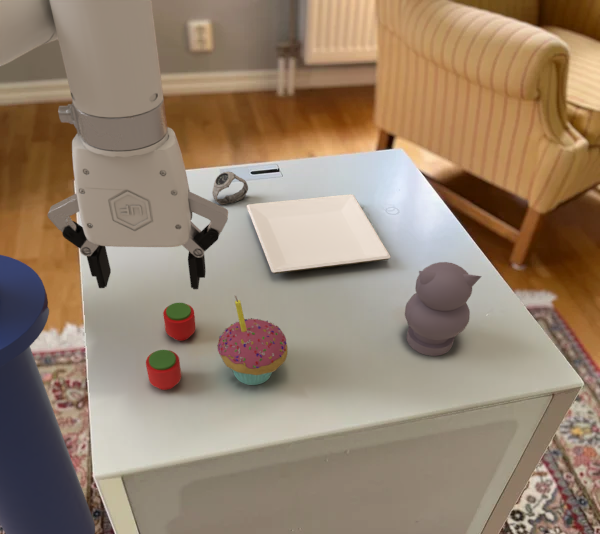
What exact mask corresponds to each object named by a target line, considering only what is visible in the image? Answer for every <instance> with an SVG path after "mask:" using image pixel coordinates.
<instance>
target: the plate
mask: <svg viewBox="0 0 600 534" xmlns="http://www.w3.org/2000/svg"><path fill="white" fill-rule="evenodd" d="M246 210H247V211H248V213H249V214H248V215H249V217H250V219H251V222H252V224H253V227H254V230H255V232H256V235H257V237H258V240H259V242H260V243H259V244H260V245H261V248H262V250H263V254H264V255H265V259H266V260H267V263H268V265H269V269H270V271H271V273H273V274H283V273H291V272H299V271H306V270H316V269H324V268H331V267H340V266H341V267H342V266H349V265H357V264H364V263H374V262H381V261H388V260H389V259H391V255H390V253H389V251H388V250H387V248H386V246H385V245H384V244H383V241H382V240H381V238H380V236H379V235H378V233H377V232H376V229H375V228H374V226H373V225H372V223H371V222H370V220H369V217H368V216H367V214H366V213H365V211H364V210H363V207H361V205H360V203H359V202H358V200H357V198H356V196H355V195H354V194H352V193H351V194H350V193H349V194H340V195H339V194H338V195H329V196H319V197H310V198H300V199H298V198H297V199H289V200H279V201H269V202H259V203H249V204H247V205H246Z"/></svg>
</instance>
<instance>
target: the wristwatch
mask: <svg viewBox="0 0 600 534" xmlns="http://www.w3.org/2000/svg"><path fill="white" fill-rule="evenodd" d="M234 180H237V181H239V182H240V183H242V184H243V186H242V188H241V189H240V190H239V191H237V192H235V193H233V194H230V195H225V197H223V198H218V195H219V193H220V192H222V191H223V190H226V189H227V188H229V187H230V185H231V184H232V182H233V181H234ZM248 191H249V185H248V183H247V181H246V180H245V179H244V178H242V177H240V176H238V175H236V174H235V173H234V172H232V171H224V172H221V173H219V175H217V176H216V178H215V180H214V183H213V188H212V193H211V194H212V198H213V199H214V201H215V202H216V203H218V205H220V206H223V205H229V204H234V203H237V202H239V201H241V200H243V199H244V197H245V196H247V193H248Z"/></svg>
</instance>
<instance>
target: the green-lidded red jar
mask: <svg viewBox="0 0 600 534" xmlns="http://www.w3.org/2000/svg"><path fill="white" fill-rule="evenodd" d="M162 315H163V316H162V317H163V322H164V329H165V333H166V334H167V336H169V337H170V338H172V339H174V340H176V341H186V340H188V339H189V338H190V337H191V336H193V335H194V334H195V332H196V329H197V328H196V316H195V315H196V314H195V310H194V308H193V307H192V306H191V305H190V304H187V303H185V302H174V303H171V304H169V305H168V306H167V307H165V308H164V310H163V312H162Z"/></svg>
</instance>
